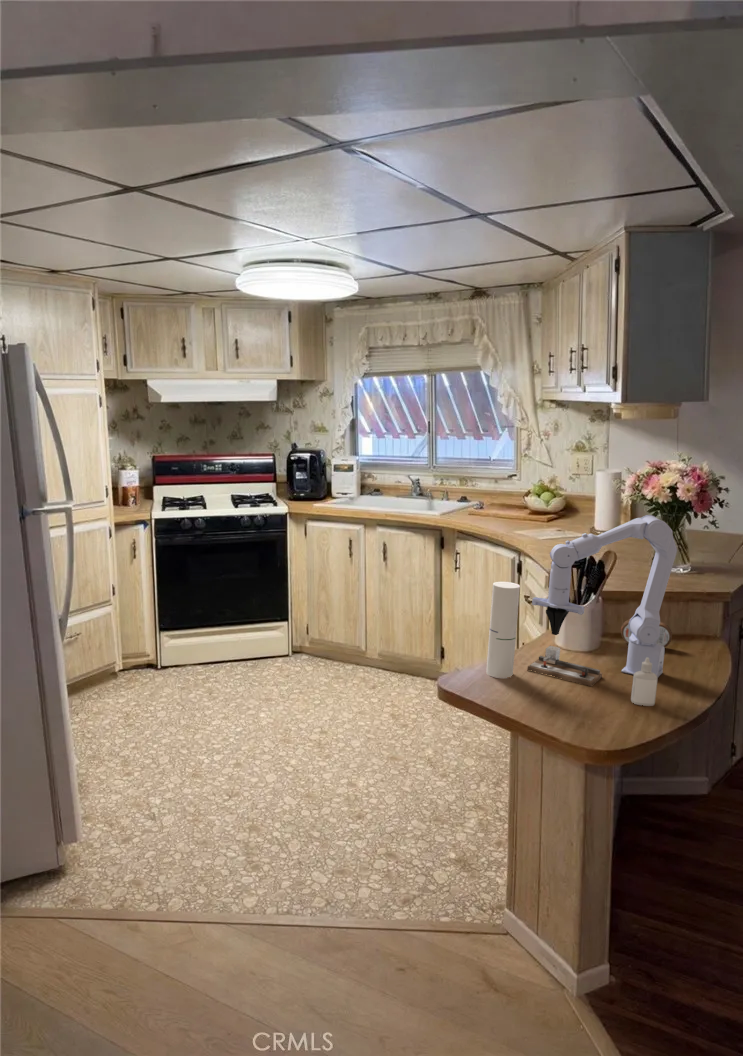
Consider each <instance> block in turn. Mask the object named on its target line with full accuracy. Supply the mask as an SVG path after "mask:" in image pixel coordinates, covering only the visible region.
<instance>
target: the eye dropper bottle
mask: <svg viewBox="0 0 743 1056" xmlns="http://www.w3.org/2000/svg"><path fill="white" fill-rule="evenodd" d="M651 670H652V663H650V662H649V658H646V660H645V662H642V666H641V671H637V672H635V673H634V675H633V677H632V686H631V694H630V695H631V696H630V702H631V703H632V704H633V703H634V705H638V706H642V705H643V706H642V707H653V706H655V703H656V698H657V697H656V696H657V687H658V678H657V676H656V674H654V673H652V672H651Z"/></svg>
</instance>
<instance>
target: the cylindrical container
mask: <svg viewBox="0 0 743 1056" xmlns="http://www.w3.org/2000/svg"><path fill="white" fill-rule="evenodd" d="M520 590H521V586H520V584H518V583H515V582H511V581H496V582H495V581H494V582H493V583H492V591H491V592H492V593H491V606H490V618H489V619H490V620H489V632H488V633H489V634H488V643H487V659H486V670H485V671H486V675H487V676H490V677H492V678H495V679H508V678H507V677H510V676H512V675H514V663H515V649H516V637H517V627H518V616H519V615H518V613H519V603H520V602H519V600H520ZM512 677H513V676H512ZM510 678H511V677H510Z"/></svg>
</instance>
